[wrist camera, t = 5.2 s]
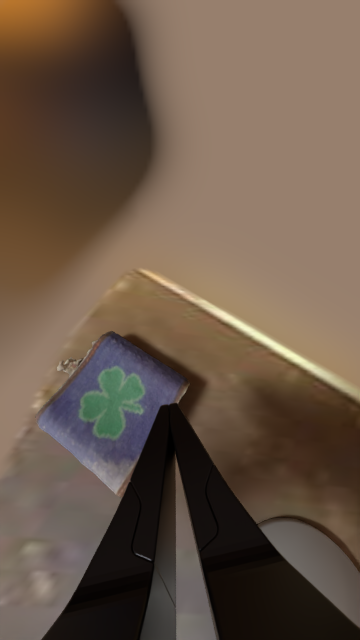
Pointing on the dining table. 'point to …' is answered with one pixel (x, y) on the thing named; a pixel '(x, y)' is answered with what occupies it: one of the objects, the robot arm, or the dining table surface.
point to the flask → (110, 407)
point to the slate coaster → (317, 562)
